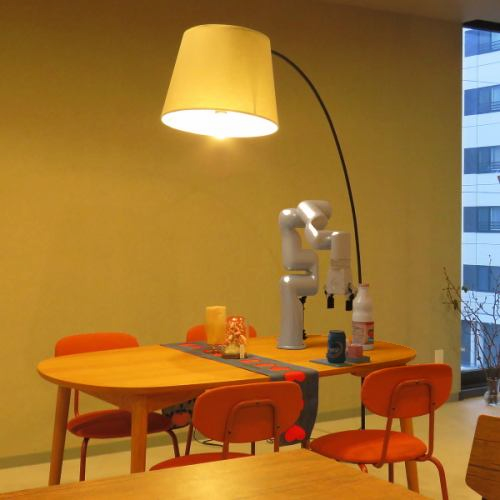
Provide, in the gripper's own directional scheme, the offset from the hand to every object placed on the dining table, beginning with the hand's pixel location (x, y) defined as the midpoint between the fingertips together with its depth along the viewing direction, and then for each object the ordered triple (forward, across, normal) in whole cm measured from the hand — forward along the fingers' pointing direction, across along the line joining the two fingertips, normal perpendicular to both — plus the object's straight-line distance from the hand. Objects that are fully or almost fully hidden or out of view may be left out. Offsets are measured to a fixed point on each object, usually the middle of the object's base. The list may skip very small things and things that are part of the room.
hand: (339, 309), depth 289 cm
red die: (+19, -1, +10) cm, 21 cm away
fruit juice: (+21, -22, +37) cm, 48 cm away
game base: (+21, -5, +10) cm, 24 cm away
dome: (+18, -8, +10) cm, 22 cm away
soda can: (+20, +1, -2) cm, 20 cm away
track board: (+21, -2, -2) cm, 21 cm away
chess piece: (+22, -62, +36) cm, 75 cm away
